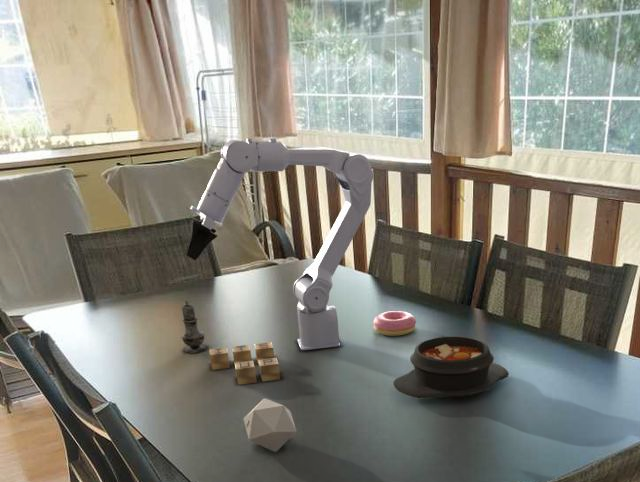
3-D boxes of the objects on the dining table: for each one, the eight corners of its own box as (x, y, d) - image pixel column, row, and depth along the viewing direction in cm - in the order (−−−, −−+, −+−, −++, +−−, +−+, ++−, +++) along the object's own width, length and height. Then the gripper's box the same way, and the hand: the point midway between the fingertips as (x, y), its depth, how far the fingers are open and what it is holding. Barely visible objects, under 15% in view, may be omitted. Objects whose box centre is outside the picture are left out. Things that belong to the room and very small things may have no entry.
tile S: (273, 356, 164) (271, 341, 162) (274, 362, 161) (273, 347, 159) (256, 358, 163) (254, 343, 161) (257, 364, 160) (255, 349, 158)
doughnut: (366, 335, 174) (365, 319, 171) (382, 322, 182) (382, 306, 180) (407, 339, 170) (407, 323, 168) (421, 325, 178) (421, 309, 176)
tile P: (278, 373, 155) (276, 357, 153) (280, 379, 151) (278, 363, 149) (260, 375, 154) (258, 359, 152) (262, 381, 151) (260, 365, 149)
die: (261, 434, 130) (228, 406, 122) (300, 410, 128) (269, 380, 120) (270, 468, 125) (237, 441, 117) (310, 443, 123) (280, 414, 115)
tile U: (255, 375, 154) (252, 360, 152) (256, 382, 150) (254, 366, 149) (237, 378, 153) (234, 362, 151) (238, 384, 150) (235, 368, 148)
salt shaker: (201, 353, 168) (192, 304, 161) (179, 352, 169) (169, 304, 162) (211, 345, 173) (202, 297, 166) (189, 344, 174) (180, 297, 167)
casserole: (422, 416, 132) (422, 375, 128) (377, 384, 146) (375, 346, 142) (527, 388, 142) (530, 348, 137) (475, 361, 156) (476, 324, 151)
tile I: (229, 361, 162) (226, 346, 160) (230, 367, 159) (227, 352, 157) (211, 364, 161) (209, 349, 159) (212, 370, 158) (209, 354, 156)
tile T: (251, 359, 163) (249, 344, 161) (252, 365, 160) (250, 349, 158) (234, 361, 162) (231, 346, 160) (235, 367, 159) (232, 352, 157)
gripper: (200, 184, 151) (173, 242, 154) (201, 187, 138) (172, 249, 142) (229, 202, 154) (202, 258, 157) (233, 207, 141) (204, 267, 145)
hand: (190, 255), depth 150 cm, fingers open, 7 cm apart
